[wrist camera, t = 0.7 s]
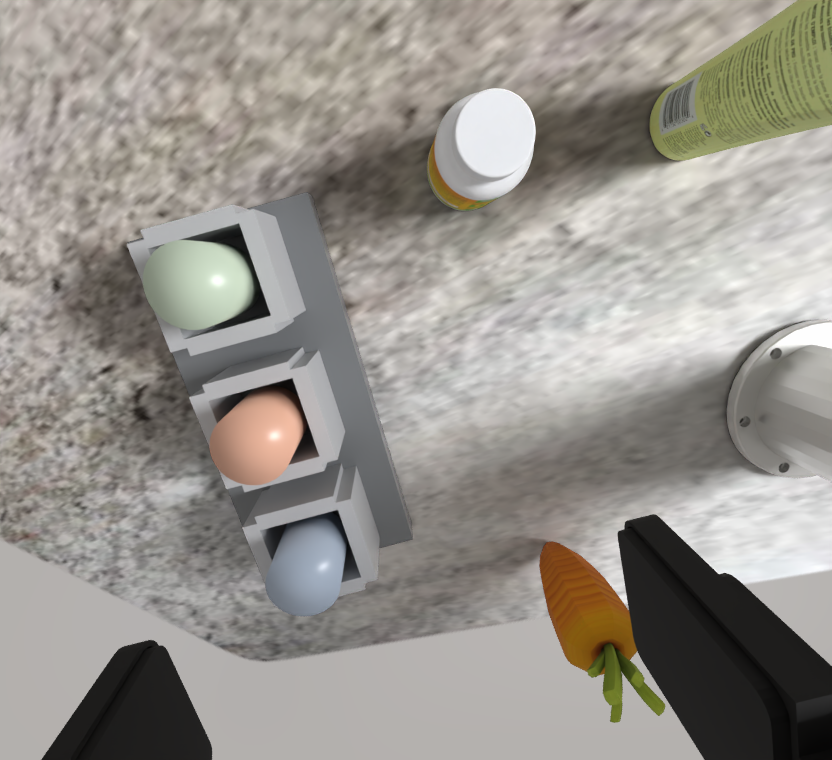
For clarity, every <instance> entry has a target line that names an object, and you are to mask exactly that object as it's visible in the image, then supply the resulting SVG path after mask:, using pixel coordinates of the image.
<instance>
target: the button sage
mask: <svg viewBox="0 0 832 760" xmlns="http://www.w3.org/2000/svg"><path fill="white" fill-rule="evenodd" d="M143 288H144V292H145V295H146V298H147V300H148V302H149V304H150V306H151V307H152V309H153V310H154V311H155V312H156V313H157V314H158V315H159V316H160V317H161V318H162V319H163V320H165V321H166V322H168V323H169V324H171V325H173V326H175V327H178V328H182V329H187V330H200V329H205V328H208V327H211V326H213V325H216V324H219V323H221V322H224V321H227V320H229V319H232V318H235V317H237V316H240V315H242V314H244V313H246V312H247V311H248V310H249V309H250V308H252V306H253V305H254V304H255V302H256V300H257V298H258V296H259V292H260V282H259V279H258V276H257V274H256V271H255V268H254V265H253V262H252V259H251V258H250V257H249V256H248V255H247V254H246V253H245V252H244V251H242V250H241V249H239V248H237V247H235V246H233V245H230V244H225V243H214V242H203V241H191V240H176V241H172V242H169V243H166V244H164V245H162V246H160V247H159V248H158V249H156V250H155V251H154V252H153V253H152V255H151V256H150V257H149V259H148V261H147V263H146V265H145V268H144V272H143Z"/></svg>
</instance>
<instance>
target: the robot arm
mask: <svg viewBox="0 0 832 760" xmlns="http://www.w3.org/2000/svg"><path fill="white" fill-rule="evenodd" d="M727 425H728V428H729V432H730V436H731V438H732V440H733V442H734V444H735V446H736V448H737V449H738V450H739V452H740V453H741V454H742V455H743V456H744V457H745V458H746V459H747V460H748V461H750V462H751V463H753V464H754V465H755V466H757V467H759V468H761V469H763V470H765V471H767V472H768V473H771V474H774V475H777V476H780V477H789V478H804V477H812V476H816V475H818V476H820V477H822V478H824V479H826V480H828V481H829V482H831V483H832V320H825V319H824V320H811V321H806V322H802V323H799V324H795V325H792V326H790V327H788V328H786V329H783V330H781V331H779V332H777V333H776V334H774V335H773V336H771V337H770V338H768V339H767V340H766V341H764V342H763V343H762V344H761V345H760V346H759V347H758V348H757V349H756V350H754V351H753V352H752V353H751V355H750V356H749V357H748V359H747V360H746V361H745V362H744V364H743V365H742V366H741V368H740V370H739V372H738V374H737V376H736V377H735V379H734V382H733V384H732V387H731V390H730V393H729V398H728V404H727ZM618 542H619V548H620V555H621V561H622V568H623V574H624V581H625V587H626V593H627V600H628V606H629V613H630V619H631V626H632V632H633V638H634V643H635V646H636V648H637V651H638V653H639V655H640V657H641V659H642V661H643V663H644V664H645V666H646V667H647V669H648V670H649V672H650V674H651V675H652V677H653V678H654V680H655V682H656V683H657V685H658V686H659V688H660V689H661V691H662V693H663V694H664V696H665V698H666V699H667V701H668V702H669V704H670V705H671V707H672V709H673V710H674V712H675V713H676V715H677V717H678V718H679V720H680V721H681V723H682V725H683V726H684V728H685V729H686V731H687V732H688V734H689V735H690V737H691V739H692V740H693V742H694V743H695V745H696V747H697V748H698V750H699V752H700V753H701V755H702V756H703V758H704V759H705V760H832V666H830V664H829V663H827V662H826V661H825V660H824V659H823V658H822V657H821V656H820V655H819V654H818V653H817V652H816V651H814V650H813V649H812V648H811V647H810V646H809V645H808V644H807V643H806V642H805V641H804V640H803V639H801V638H800V637H799V636H798V635H797V634H796V633H795V632H794V631H793V630H792V629H791V628H789V627H788V626H787V625H786V624H785V623H784V622H783V621H782V620H781V619H780V618H779V617H778V616H777V615H775V614H774V613H773V612H772V611H771V610H770V609H769V608H768V607H767V606H766V605H765V604H764V603H762V602H761V601H760V600H759V599H758V598H757V597H756V596H755V595H754V594H753V593H752V592H751V591H749V590H748V589H747V588H746V587H745V586H744V585H743V584H742V583H741V582H740V581H739V580H737V579H736V578H735V577H733V576H732V575H730V574H727V573H723V574H718V573H717V572H716V571H715V570H714V569H712V568H711V567H710V566H709V565H708V564H707V563H706V562H705V561H704V560H703V559H702V558H701V557H700V556H699V555H698V554H697V553H696V552H695V551H694V550H693V549H692V548H691V547H690V546H689V545H687V544H686V543H685V542H684V541H683V540H682V539H681V538H680V537H679V536H678V535H677V534H676V533H675V532H674V531H673V530H672V529H671V528H670V527H669V526H668V525H667V524H666V523H665V522H664V521H663V520H661V519H660V518H659V517H658V516H657V515H649V516H645V517H641V518H637V519H633V520H629V521H626V522H625V530H621V531H619V532H618ZM42 760H212V747H211V744H210V741H209V739H208V737H207V734H206V732H205V730H204V728H203V726H202V724H201V722H200V720H199V718H198V715H197V713H196V711H195V709H194V707H193V705H192V702H191V700H190V698H189V696H188V694H187V692H186V690H185V688H184V685H183V683H182V681H181V679H180V677H179V675H178V673H177V671H176V668H175V666H174V664H173V662H172V660H171V658H170V656H169V653H168V651H167V650H166V648H165V647H164V646H159V645H158V644H157V642H155V641H153V640H148V641H144V642H140V643H136V644H132V645H128V646H124V647H122V648H120V649H119V650H118V651H117V652H116V653H115V654H114V656H113V657H112V658H111V660H110V662H109V663H108V664H107V666H106V667H105V669H104V670H103V672H102V673H101V674H100V676H99V677H98V679H97V680H96V682H95V683H94V684H93V686H92V688H91V689H90V690H89V692H88V693H87V695H86V696H85V698H84V699H83V700H82V702H81V703H80V705H79V706H78V708H77V709H76V710H75V712H74V713H73V715H72V716H71V718H70V719H69V721H68V722H67V724H66V725H65V726H64V728H63V729H62V731H61V733H60V734H59V735H58V736H57V738H56V740H55V741H54V742H53V744H52V745H51V747H50V748H49V750H48V751H47V752H46V754H45V755H44V757H43V758H42Z"/></svg>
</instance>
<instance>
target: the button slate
mask: <svg viewBox="0 0 832 760" xmlns="http://www.w3.org/2000/svg"><path fill="white" fill-rule="evenodd" d="M347 543H348V538H347V535H346V532H345V529H344V526H343V523H342V520H341V519H340V518H339V517H338V516H337V515H335V514H334V513H332V512H328V513H324V514H320V515H316V516H313V517H309V518H305V519H301V520H297V521H294V522H290V523H287V525H286V528H285V530H284V533H283V535H282V538H281V540H280V543H279V545H278V548H277V550H276V553H275V555H274V558H273V560H272V563H271V565H270V568H269V570H268V573H267V576H266V581H265V586H266V591H267V594H268V596H269V598H270V600H271V601H272V602H273V604H274V605H275V606H277V607H278V608H279V609H281V610H282V611H284V612H286V613H288V614H291V615H295V616H312V615H316V614H319V613H321V612H323V611H325V610H327V609H328V608H329V607H331V606H332V605H333V603H334V602H335V601H336V599H337V597H338V595H339V592H340V587H341V581H342V575H343V568H344V562H345V556H346V549H347Z"/></svg>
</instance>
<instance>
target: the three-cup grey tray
mask: <svg viewBox="0 0 832 760" xmlns="http://www.w3.org/2000/svg"><path fill="white" fill-rule="evenodd" d="M141 233H142V235H143V238H141V239H137V240H134V241H130V242H127V243H128V244H127V247H128V249H129V252H130V254H131V257H132V259H133V261H134V264H135V266H136V269H137V271H138V274H139V276H140V279H141V281H142V283H143V272H144V268H145V265H146V263H147V261H148V259H149V257H150V256H151V255H152V253H153V252H154V251H155V250H156V249H158V248H159V247H160V246H162V245H164V244H166V243H169V242H172V241H176V240H191V241H203V242H214V243H225V244H230V245H233V246H235V247H237V248H239V249H241V250H242V251H244V252H245V253H246V254H247V255H248V256H249V257H250V258H251V259H252V262H253V265H254V268H255V271H256V274H257V276H258V279H259V282H260V292H259V296H258V298H257V300H256V302H255V304H254V305H253V306H252V308H250V309H249V310H248V311H247V312H246V313H244V314H242V315H240V316H237V317H235V318H232V319H229V320H227V321H224V322H221V323H219V324H216V325H213V326H211V327H208V328H205V329H200V330H187V329H182V328H178V327H175V326H173V325H171V324H169V323H168V322H166V321H165V320H163V319H162V318H161V317H160V316H159V315H158V314H157V313H156V312H155V311H154V313H155V315H156V318H157V320H158V323H159V325H160V328H161V330H162V333H163V335H164V337H165V340H166V342H167V345H168V347H169V350H170V352H172V354H173V356H174V359H175V361H176V364H177V366H178V369H179V371H180V373H181V376H182V378H183V381H184V383H185V386H186V388H187V391H188V393H189V396H190V397H189V399H190V401H191V404H192V406H193V409H194V411H195V414H196V416H197V418H198V421H199V423H200V426H201V428H202V431H203V433H204V436H205V438H206V441H207V443H208V445H209V444H210V437H211V434H212V431H213V429H214V428H215V426H216V425H217V423H218V422H219V421H220V420H221V419H222V418H223V417H224V416H226V415H227V414H228V413H229V412H230V411H231V410H232V409H233V408H234V407H235V406H236V405H237V404H238V403H239V402H240V401H241V400H243V399H244V398H245V397H246V396H247V395H248V394H249V393H250V392H252V391H253V390H255V389H257V388H260V387H263V386H279V387H282V388H285V389H287V390H289V391H291V392H293V393H294V394H295V395H296V396H297V397H298V398H299V399H300V401H301V404H302V407H303V410H304V413H305V416H306V419H307V427H306V431H305V433H304V435H303V437H302V439H301V441H300V443H299V445H298V447H297V449H296V451H295V453H294V455H293V457H292V459H291V461H290V463H289V465H288V467H287V468H286V470H285V471H284V472H283V473H282V474H281V475H280V476H279V477H278V478H276V479H275V480H273V481H271V482H269V483H266V484H262V485H245V484H241V483H237V482H235V481H233V480H231V479H229V478H228V477H226V476H225V475H224V474H223V473H222V472H220V470H219V469H218V470H219V472H220V475H221V477H222V480H223V482H224V485H225V487H226V489H228V491H229V494H230V496H231V499H232V501H233V504H234V506H235V509H236V511H237V514H238V516H239V519H240V521H241V523H242V526H243V527H242V529H243V531H244V534H245V536H246V539H247V541H248V544H249V546H250V549H251V551H252V553H253V556H254V558H255V561H256V563H257V566H258V568H259V571H260V573H261V575H262V578H263V580H264V583H265V581H266V576H267V573H268V570H269V568H270V565H271V563H272V560H273V558H274V555H275V553H276V550H277V548H278V545H279V543H280V540H281V538H282V535H283V533H284V530H285V528H286V525H287V523H290V522H294V521H297V520H301V519H305V518H309V517H313V516H316V515H320V514H324V513H328V512H332V513H334V514H335V515H337V516H338V517H339V518H340V519H341V520H342V523H343V526H344V529H345V532H346V535H347V538H348V543H347V549H346V556H345V562H344V568H343V575H342V581H341V587H340V592H339V595H338V597H340V596H343V595H347V594H351V593H355V592H359V591H362V590H365V589H366V583H367V582H371V581H375V580H378V564H379V548H382V547H386V546H389V545H393V544H397V543H401V542H405V541H408V540H412V539H413V534H412V524H411V521H410V518H409V514H408V511H407V508H406V504H405V501H404V498H403V494H402V491H401V488H400V485H399V481H398V478H397V475H396V471H395V468H394V465H393V461H392V458H391V455H390V451H389V448H388V445H387V442H386V438H385V435H384V432H383V428H382V425H381V422H380V418H379V415H378V412H377V408H376V405H375V402H374V399H373V395H372V392H371V389H370V385H369V382H368V379H367V375H366V372H365V369H364V366H363V362H362V359H361V356H360V352H359V349H358V346H357V342H356V339H355V336H354V332H353V329H352V326H351V323H350V319H349V316H348V313H347V309H346V306H345V303H344V299H343V296H342V293H341V289H340V286H339V283H338V280H337V276H336V273H335V270H334V266H333V263H332V260H331V256H330V253H329V250H328V247H327V243H326V240H325V237H324V233H323V230H322V227H321V223H320V220H319V217H318V213H317V210H316V207H315V204H314V200H313V197H312V196H311V195H310V194H309V193H308V192H306V193H302V194H299V195H295V196H291V197H288V198H284V199H281V200H277V201H274V202H270V203H266V204H263V205H259V206H256V207H252V208H248V209H245V208H242V207H239V206H236V205H233V204H232V205H228V206H225V207H221V208H218V209H214V210H211V211H207V212H203V213H200V214H196V215H193V216H189V217H185V218H182V219H178V220H175V221H171V222H168V223H164V224H160V225H157V226H153V227H150V228H146V229H143V230H141ZM209 448H210V445H209ZM273 605H274V604H273ZM274 607H276V606H275V605H274Z"/></svg>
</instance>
